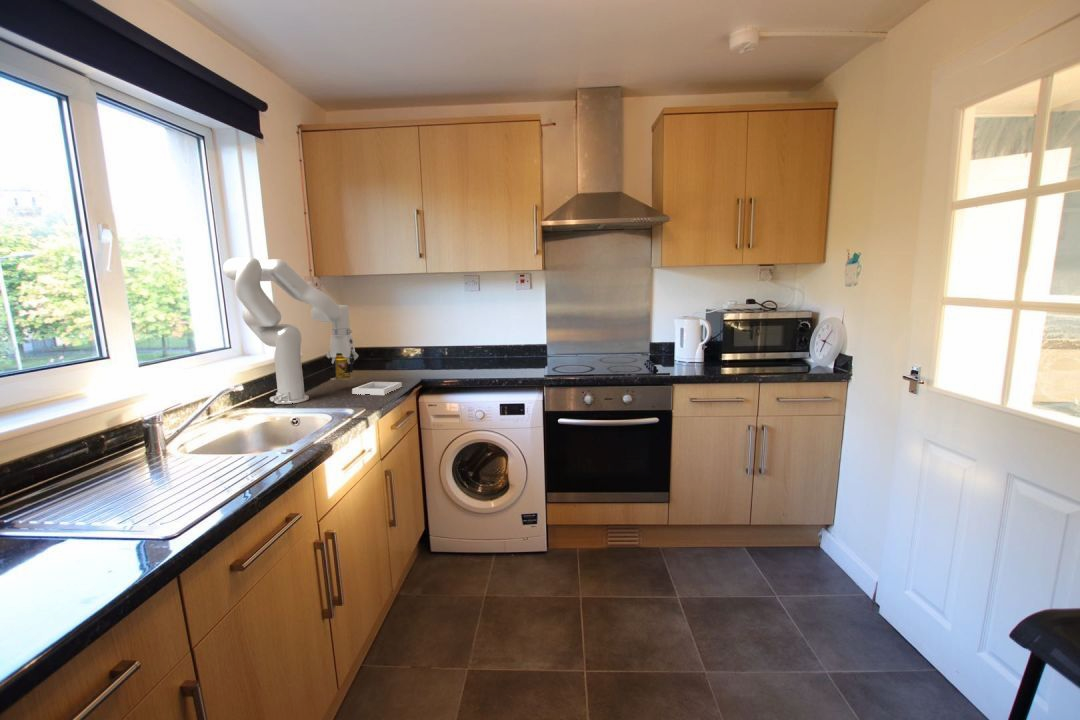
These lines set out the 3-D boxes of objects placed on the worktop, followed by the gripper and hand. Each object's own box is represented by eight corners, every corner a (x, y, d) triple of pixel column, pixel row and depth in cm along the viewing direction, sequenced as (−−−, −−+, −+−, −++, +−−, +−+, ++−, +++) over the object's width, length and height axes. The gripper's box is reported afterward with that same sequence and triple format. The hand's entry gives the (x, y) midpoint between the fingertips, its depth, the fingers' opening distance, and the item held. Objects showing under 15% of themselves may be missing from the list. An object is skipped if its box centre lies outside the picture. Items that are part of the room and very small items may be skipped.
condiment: (346, 380, 206) (345, 353, 205) (328, 379, 207) (327, 353, 205) (354, 377, 213) (353, 351, 212) (337, 377, 214) (335, 351, 213)
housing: (384, 395, 197) (383, 389, 197) (352, 394, 200) (352, 388, 200) (401, 387, 213) (401, 382, 212) (372, 387, 216) (371, 381, 215)
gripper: (363, 332, 210) (365, 371, 212) (329, 332, 213) (331, 370, 215) (353, 333, 202) (355, 373, 204) (318, 332, 205) (320, 372, 207)
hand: (343, 371), depth 210 cm, fingers closed on condiment, 6 cm apart
